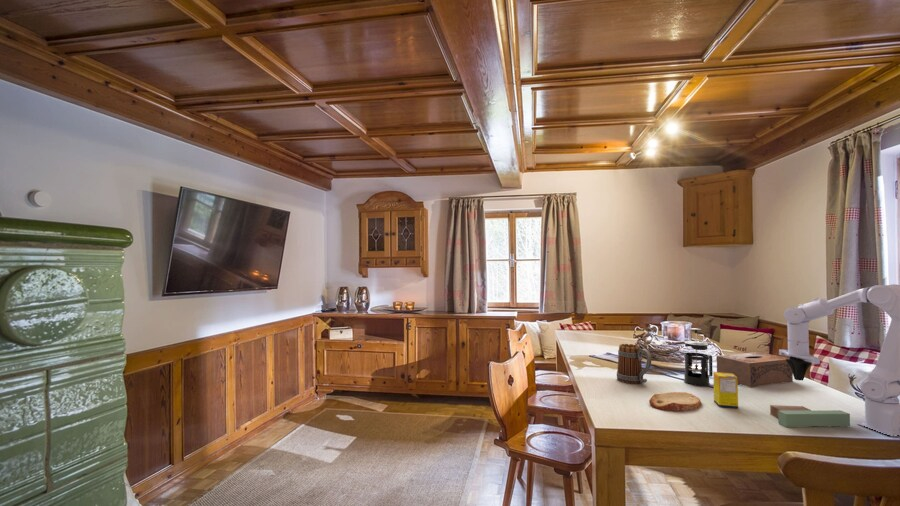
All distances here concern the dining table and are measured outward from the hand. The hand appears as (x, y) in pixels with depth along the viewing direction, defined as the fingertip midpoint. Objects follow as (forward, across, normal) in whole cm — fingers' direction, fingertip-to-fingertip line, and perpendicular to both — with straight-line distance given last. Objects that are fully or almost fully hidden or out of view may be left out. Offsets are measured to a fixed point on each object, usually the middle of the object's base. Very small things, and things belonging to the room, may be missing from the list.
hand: (798, 379), depth 145 cm
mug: (+10, -31, -44) cm, 55 cm away
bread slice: (+10, -4, -42) cm, 44 cm away
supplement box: (+10, -2, -25) cm, 27 cm away
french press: (+10, -29, -18) cm, 35 cm away
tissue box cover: (+10, -34, +10) cm, 37 cm away
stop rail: (+9, +16, -10) cm, 21 cm away
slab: (+10, +11, -12) cm, 19 cm away
